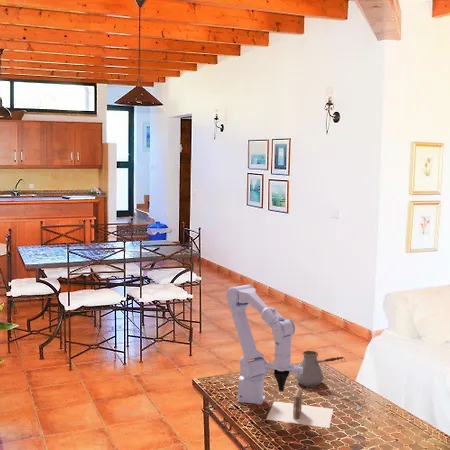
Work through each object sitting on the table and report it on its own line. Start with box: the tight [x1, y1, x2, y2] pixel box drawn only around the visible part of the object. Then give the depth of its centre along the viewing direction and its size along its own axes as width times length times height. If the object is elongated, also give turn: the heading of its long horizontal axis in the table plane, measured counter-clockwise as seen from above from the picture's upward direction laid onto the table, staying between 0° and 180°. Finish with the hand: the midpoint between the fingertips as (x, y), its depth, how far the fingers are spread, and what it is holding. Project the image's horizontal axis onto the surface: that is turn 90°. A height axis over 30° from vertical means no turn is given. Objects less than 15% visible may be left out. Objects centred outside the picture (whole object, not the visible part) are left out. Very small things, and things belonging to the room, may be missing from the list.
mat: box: [265, 400, 334, 429], centre depth 213 cm, size 22×16×1 cm
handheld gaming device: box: [328, 394, 363, 412], centre depth 223 cm, size 9×1×15 cm
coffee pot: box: [295, 350, 346, 388], centre depth 239 cm, size 21×12×15 cm, turn 48°
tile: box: [293, 389, 303, 419], centre depth 212 cm, size 2×7×8 cm, turn 165°
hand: (281, 390), depth 213 cm, fingers closed
